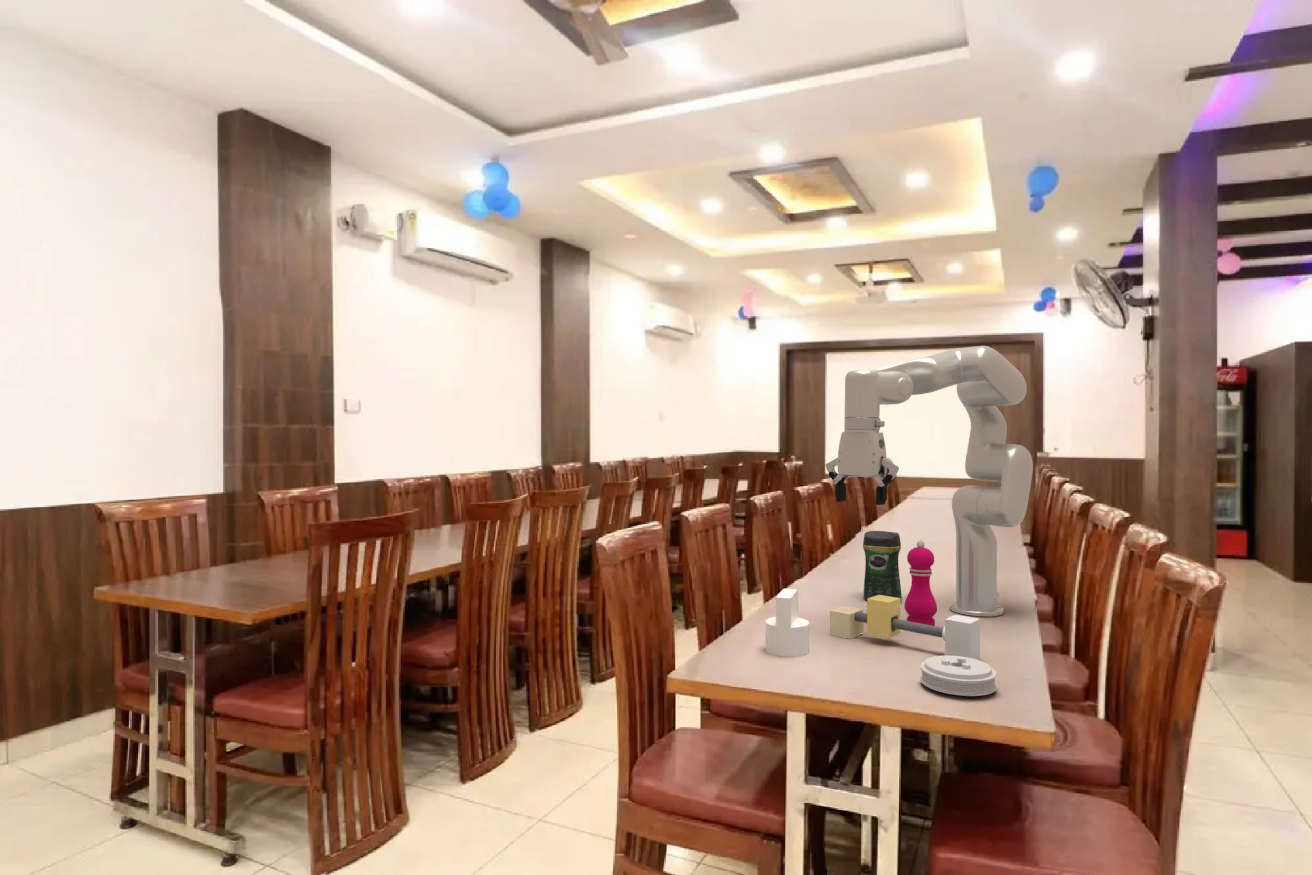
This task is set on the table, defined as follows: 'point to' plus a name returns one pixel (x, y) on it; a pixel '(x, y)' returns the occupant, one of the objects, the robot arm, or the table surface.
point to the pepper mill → (920, 586)
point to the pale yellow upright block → (882, 615)
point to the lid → (958, 675)
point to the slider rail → (916, 630)
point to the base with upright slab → (787, 627)
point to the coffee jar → (881, 564)
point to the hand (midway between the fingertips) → (860, 502)
